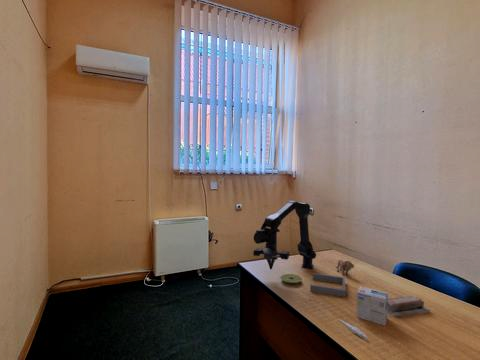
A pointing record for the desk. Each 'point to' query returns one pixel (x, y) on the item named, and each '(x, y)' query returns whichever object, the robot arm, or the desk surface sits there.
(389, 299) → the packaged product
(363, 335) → the stylus pen
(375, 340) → the desk surface
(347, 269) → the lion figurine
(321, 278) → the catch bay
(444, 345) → the desk surface
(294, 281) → the green speckled disc
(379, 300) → the light bulb box
